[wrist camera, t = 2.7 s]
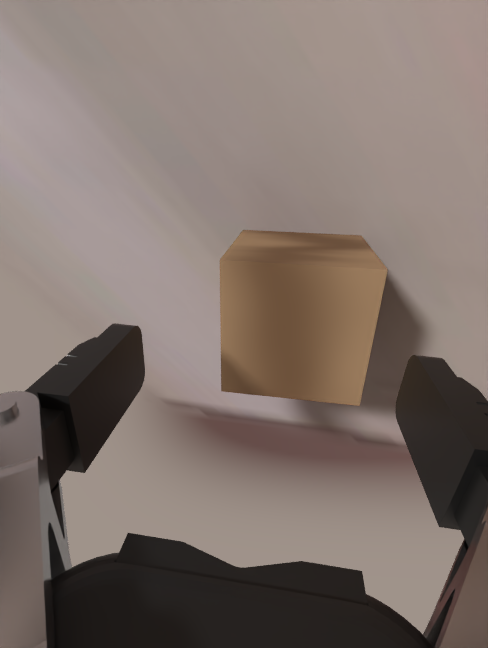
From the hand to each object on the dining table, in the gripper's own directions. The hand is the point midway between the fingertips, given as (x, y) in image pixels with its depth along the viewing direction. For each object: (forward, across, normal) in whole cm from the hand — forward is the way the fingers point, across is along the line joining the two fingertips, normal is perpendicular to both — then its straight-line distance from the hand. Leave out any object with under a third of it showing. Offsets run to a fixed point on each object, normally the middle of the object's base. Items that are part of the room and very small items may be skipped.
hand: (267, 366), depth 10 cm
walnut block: (+8, -1, 0) cm, 8 cm away
